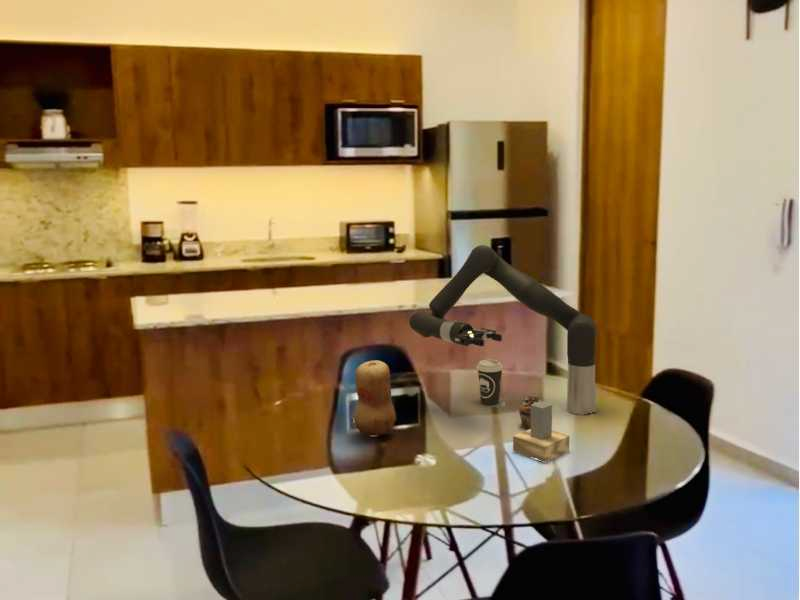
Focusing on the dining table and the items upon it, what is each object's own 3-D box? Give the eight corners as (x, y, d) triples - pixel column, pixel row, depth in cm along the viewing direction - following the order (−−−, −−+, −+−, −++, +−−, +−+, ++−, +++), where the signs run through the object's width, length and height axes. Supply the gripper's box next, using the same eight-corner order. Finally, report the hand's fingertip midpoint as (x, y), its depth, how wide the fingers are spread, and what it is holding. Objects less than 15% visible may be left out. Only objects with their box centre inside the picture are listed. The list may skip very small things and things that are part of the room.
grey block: (539, 432, 238) (540, 401, 235) (551, 436, 234) (552, 404, 232) (530, 436, 235) (530, 404, 233) (542, 440, 231) (542, 408, 229)
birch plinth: (537, 440, 244) (537, 425, 243) (569, 451, 235) (569, 435, 234) (513, 451, 236) (513, 436, 235) (544, 462, 227) (544, 446, 226)
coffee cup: (504, 406, 275) (504, 366, 272) (477, 407, 276) (477, 366, 273) (501, 397, 285) (501, 358, 282) (475, 398, 285) (475, 359, 282)
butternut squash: (346, 439, 249) (343, 365, 244) (367, 425, 261) (364, 354, 256) (384, 446, 243) (381, 370, 238) (404, 431, 254) (401, 359, 249)
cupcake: (548, 432, 251) (548, 403, 248) (518, 430, 252) (518, 401, 250) (548, 421, 260) (549, 393, 258) (519, 420, 262) (519, 392, 260)
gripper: (441, 325, 256) (477, 333, 244) (470, 317, 265) (506, 325, 253) (441, 347, 257) (477, 356, 245) (470, 339, 266) (506, 347, 255)
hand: (492, 340), depth 249 cm, fingers open, 8 cm apart
